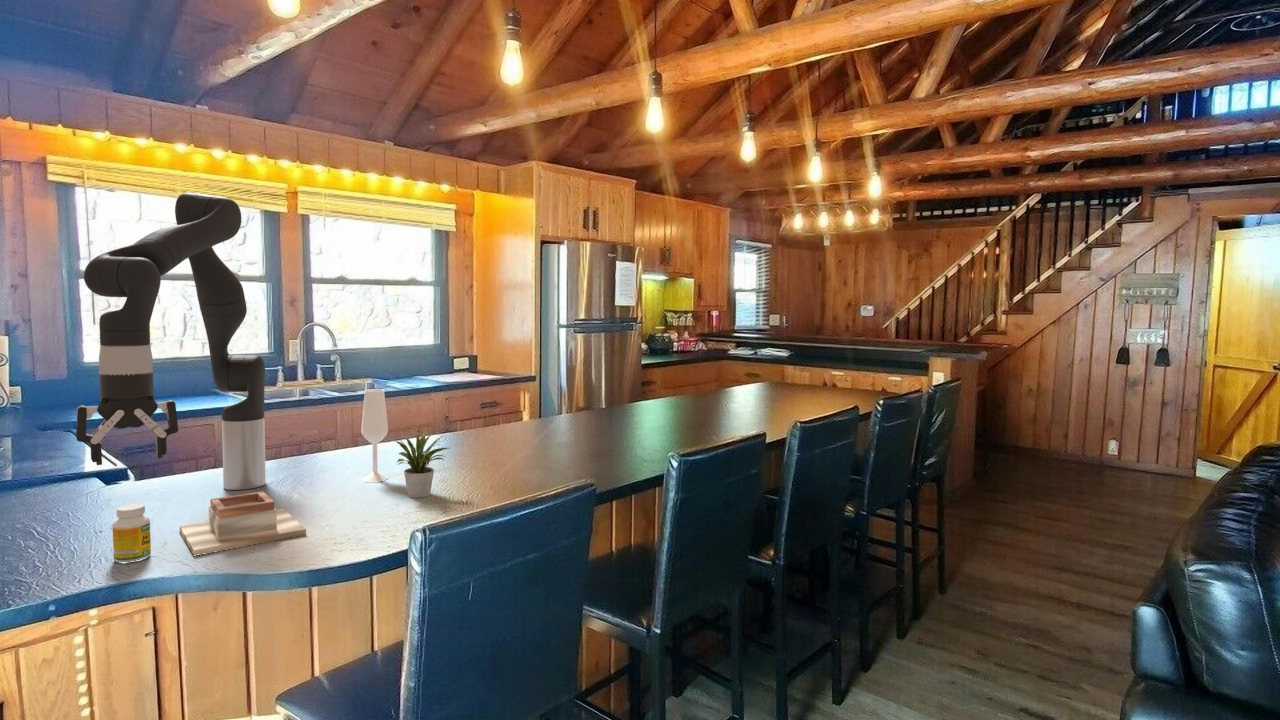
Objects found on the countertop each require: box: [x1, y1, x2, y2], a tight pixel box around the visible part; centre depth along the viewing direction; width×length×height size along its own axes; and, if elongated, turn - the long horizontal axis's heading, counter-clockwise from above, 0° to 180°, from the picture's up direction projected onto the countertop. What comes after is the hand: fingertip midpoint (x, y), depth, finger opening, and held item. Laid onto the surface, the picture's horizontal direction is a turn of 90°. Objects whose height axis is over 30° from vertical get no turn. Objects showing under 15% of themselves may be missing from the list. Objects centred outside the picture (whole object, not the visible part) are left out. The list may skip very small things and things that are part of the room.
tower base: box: [179, 490, 307, 555], centre depth 133 cm, size 17×19×7 cm
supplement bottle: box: [111, 503, 152, 562], centre depth 119 cm, size 5×5×10 cm
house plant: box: [394, 429, 451, 499], centre depth 161 cm, size 14×14×16 cm
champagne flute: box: [360, 388, 389, 483], centre depth 176 cm, size 7×7×24 cm
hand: (129, 460), depth 118 cm, fingers open, 8 cm apart
